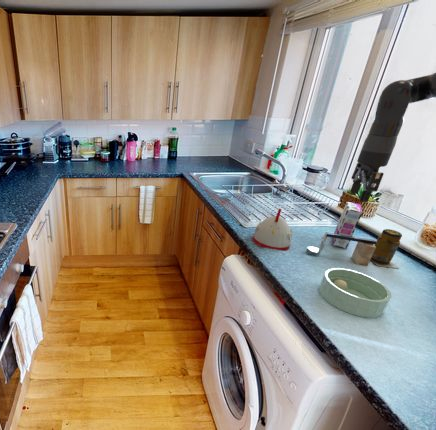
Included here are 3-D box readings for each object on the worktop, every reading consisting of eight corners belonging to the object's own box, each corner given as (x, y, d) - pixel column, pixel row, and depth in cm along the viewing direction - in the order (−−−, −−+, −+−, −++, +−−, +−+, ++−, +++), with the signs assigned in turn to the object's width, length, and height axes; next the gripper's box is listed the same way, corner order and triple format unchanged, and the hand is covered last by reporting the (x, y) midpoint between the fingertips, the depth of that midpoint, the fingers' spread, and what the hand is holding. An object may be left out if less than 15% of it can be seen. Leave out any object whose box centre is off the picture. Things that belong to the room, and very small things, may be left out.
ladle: (307, 255, 110) (315, 233, 106) (304, 249, 114) (312, 228, 110) (367, 266, 104) (378, 243, 100) (362, 260, 108) (373, 238, 104)
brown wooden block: (360, 258, 109) (369, 239, 105) (366, 267, 104) (376, 247, 100) (351, 257, 110) (359, 238, 106) (356, 265, 105) (365, 245, 101)
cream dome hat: (249, 244, 117) (257, 210, 111) (255, 231, 128) (263, 200, 121) (287, 254, 110) (299, 220, 104) (290, 240, 121) (301, 207, 114)
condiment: (383, 256, 111) (397, 228, 106) (399, 268, 103) (414, 239, 98) (362, 254, 112) (375, 226, 107) (376, 266, 104) (390, 237, 99)
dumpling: (342, 287, 91) (347, 278, 90) (346, 294, 88) (351, 285, 87) (329, 285, 93) (333, 276, 91) (333, 292, 89) (337, 282, 88)
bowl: (369, 291, 91) (377, 274, 89) (392, 326, 78) (402, 307, 75) (312, 279, 96) (319, 263, 94) (325, 310, 83) (333, 293, 80)
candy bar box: (347, 249, 115) (363, 212, 108) (332, 245, 117) (346, 209, 110) (346, 238, 123) (361, 203, 116) (332, 235, 126) (346, 200, 119)
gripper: (403, 155, 84) (380, 206, 90) (381, 146, 96) (363, 192, 102) (371, 153, 86) (352, 202, 93) (354, 144, 98) (338, 189, 105)
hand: (358, 197), depth 98 cm, fingers open, 8 cm apart
